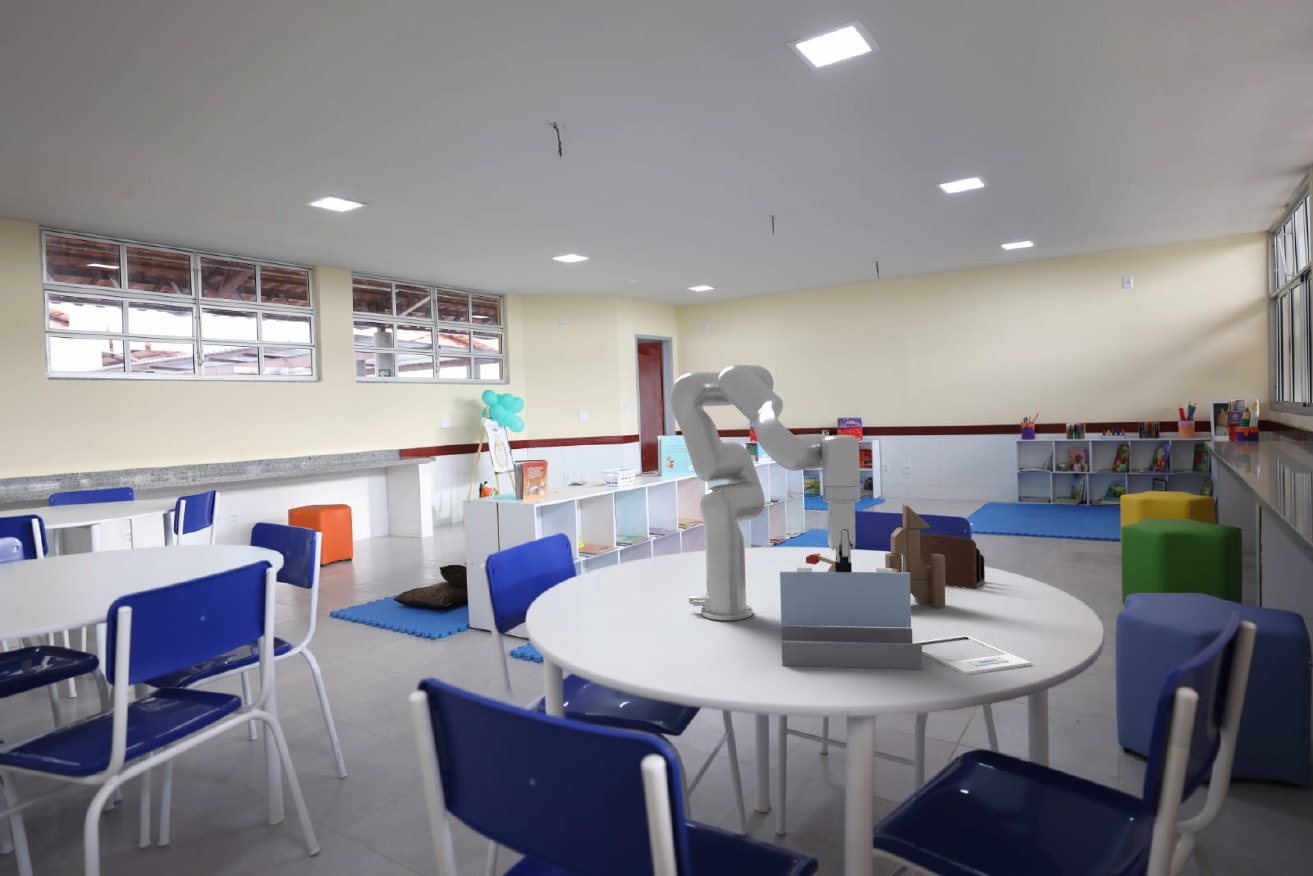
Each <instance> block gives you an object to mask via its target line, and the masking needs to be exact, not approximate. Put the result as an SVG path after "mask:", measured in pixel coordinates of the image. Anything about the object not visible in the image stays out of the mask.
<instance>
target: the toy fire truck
mask: <svg viewBox="0 0 1313 876" xmlns="http://www.w3.org/2000/svg"><path fill="white" fill-rule="evenodd" d="M820 562H823V563H826V564H830V565H831V566H829V568H828V569H827V571H826V572H835V562H837V561H836V560H833V559H831V558H827V557H825V556H821V554H820V553H814V554H809V555H807V556H805V564H809V565H817V564H819V563H820Z"/></svg>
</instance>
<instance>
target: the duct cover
mask: <svg viewBox="0 0 1313 876" xmlns="http://www.w3.org/2000/svg"><path fill="white" fill-rule="evenodd" d="M875 570H876V571H873V572H872V571H852V572H827V571H813V568H812V567H796V571H779V583H780V584H779V585H780V586H779V587H780V588H779V589H780V592H779V593H780V623H781V624H780V626H821V627H874V628H911V629H912V612H911V611H912V606H911V602H912V601H911V600H912V599H911V594H910V573H909V572H903V571H902V572H893V569H892V568H885V567H884V568H883V567H882V568H881V567H876V569H875Z"/></svg>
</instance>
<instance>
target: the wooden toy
mask: <svg viewBox="0 0 1313 876" xmlns="http://www.w3.org/2000/svg"><path fill="white" fill-rule="evenodd" d="M926 529H927V530H929V529H931V526H930V525H929V524H928V523H927V522H926V521H925V520H924V519H923V518H921V517H920V515H918V514H917V513H916V512H915V511H914V510H913V509H912V508H911V507H910V506H908V505H907V504H902V527H896V528H895V529H894V531H893V532H892V533H891V534H890V553H889V552H888V553H885V555H884V558H885V559H884V562H885V563H884V564H885V567H884V568H892V569H893V572H903V570H904V572H909V573H910V595H912V596H913V598H914V602H915V603H916V604H918V605H920V606H929V605H930V606H932V607H933V608H936V609H943V608H946V586H945V556H944V555H942V554H932V555H931V567H930V566H928V565H926V564H924V563H923V561H922V560H921V558H920V534H921V530H926Z"/></svg>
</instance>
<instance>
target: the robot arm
mask: <svg viewBox="0 0 1313 876" xmlns="http://www.w3.org/2000/svg"><path fill="white" fill-rule="evenodd" d="M670 393H671V394H670V406H671V410H672V413H673V416H674V418H675V421H676V423H677V425H678V427H679V430H680V431H681V434H682V437H683V439H684V443H685V446H686V449H687V453H688V455H689V458H690V462H691V464H692V467H693V470H694V473H695V474H696V475H695V476H696V477H697V478H698V479H699V480H700V481H703V482H707V483H711V482H712V483H713V482H723V481H726V484H725V483H723V484H719V485H718V484H717V485H714V486H712V487H709V488H708V489H707V490H705V491H704V493H702V496H701V498H700V502H699V503H700V504H699V507H700V515H701V518H702V523H703V528H704V529H703V530H704V540H705V546H704V547H705V569H706V571H705V573H706V593H705V595H701V596H693V595H692V596H691V595H690V596H689V597H688V601H689V602H688V604H689V605H692V606H693V607H701V606H702V607H701V609H700V614H701V616H702V617H704V618H707V619H710V620H714V621H726V622H727V621H739V620H744V619H747V618H750V617H751V616H753V612H754V611H753V607H751V606H750V605H748V604H747V592H746V591H747V590H746V589H747V587H746V584H747V582H746V581H747V580H746V549H745V548H746V547H745V537H744V535H743V532H742V530H741V527H740V525H739V522H744V521H749V520H754V519H756V518H757V517H759V516H760V515H761V514H762V513H763V512H764V509H765V506H766V505H765V504H766V500H765V493H764V489H763V486H762V484H761V481H760V478H759V476H758V473H757V470H756V467H755V465H754V464H755V463H754V462H753V459H752V456H751V454H750V452H749V451H748V450H747V449H746V447H745V446H744V445H742V444H741V443H739V442H738V443H737V442H734V441H728V442H726V441H725V442H723V441H722V440H721V437H720V435H719V432H718V430H717V427H716V424H715V422H714V420H713V419H712V418H711V416H710V415H709V414H708V413H707V412H706V411H705V410H704V407H724V406H734V407H735V408H736V409H737V410H738V411H739V412H740V413H741V414H742V415H743V416H745V417H746V418H747V419H748V421H750V423H752V425H753V427H754V433H755V436H756V439H757V442H758V444H759V446H760V447H761V449H762V450H763V451H764V452H765V453H766V455H768V456H769V457H770V459H772V460H773V461H774V462H775V463H776V464H778V465H779V466H780V467H782V468H784V469H786V470H787V471H788V470H789V471H793V472H795V471H805V470H814V469H821V468H822V494H823V495H822V496H823V497H822V498H823V499H822V501H823V502H824V503H827V544H828V547H829V548H830V550H832V551H835V561H837V562H835V572H853V571H852V570H853V569H852V562H851V561H852V558H851V557H852V553H851V552H852V551H854V550H855V548H856V508H855V507H856V504H855V503H858V502H861V481H860V477H861V476H860V443H859V440H858V438H857V436H854V435H852V434H838V435H837V434H835V435H834V434H832V435H828V434H821V433H812V434H810V433H807V434H805V433H804V434H793V433H792V432H791V431H790V430H789V429H788V428H787V427H785V425H783V424H782V422H780V420H779V419H778V418H779V417H780V415H781V413H782V411H783V408H784V403H783V400H782V398H781V397H780V396H779V395H778V394H777V393H776V392H775V391H774V378H773V376H772V374H771V372H770V371H769V370H768V369H767V368H765V367H763V366H760V365H755V364H754V365H753V364H752V365H750V364H733V365H730V366H727V367H725V368H724V369H723V370H722V371H721V372H718V371H717V372H713V371H712V372H711V371H710V372H709V371H695V372H693V371H692V372H687V373H685V374H683V375H680V377H678V378H677V379H676V381H675V382H674V384H673V386H672V389H671V392H670Z"/></svg>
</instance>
